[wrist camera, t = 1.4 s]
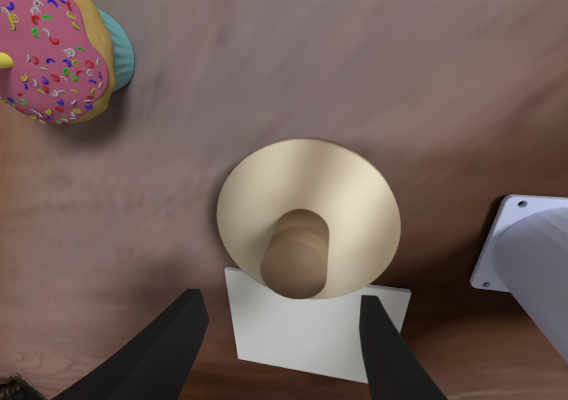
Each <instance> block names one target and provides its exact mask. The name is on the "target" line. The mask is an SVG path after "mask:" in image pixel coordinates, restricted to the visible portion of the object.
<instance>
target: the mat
mask: <svg viewBox="0 0 568 400" xmlns="http://www.w3.org/2000/svg"><path fill="white" fill-rule="evenodd" d="M224 271H225V277H226V284H227V290H228V296H229V303H230V309H231V316H232V322H233V328H234V335H235V341H236V348H237V354H238V359H243V360H248V361H254V362H259V363H264V364H269V365H274V366H280V367H285V368H290V369H295V370H300V371H306V372H311V373H316V374H321V375H327V376H332V377H337V378H342V379H347V380H353V381H358V382H363V383H368V380H367V375H366V371H365V366H364V361H363V357H362V351H361V343H360V334H359V318H360V305H361V295H376V296H378V297H379V299H380V301H381V303H382V305H383V307H384V308H385V310H386V312H387V314H388V315H389V317H390V319H391V320H392V322H393V324H394V325H395V327H396V329H397V330H398V332H399V333H400V331H401V328H402V324H403V320H404V317H405V313H406V310H407V306H408V303H409V299H410V296H411V291H410V289H402V288H394V287H386V286H378V285H370V284H368V285H367V286H365V287H363V288H362V289H360V290H358V291H355V292H353V293H350V294H347V295H344V296H341V297H336V298H330V299H290V298H286V297H283V296H281V295H279V294H277V293H275V292H274V291H272V290H271V289H269V288H267V287H265V286H263V285H261V284H260V283H258V282H256V281H255V280H253V279H252V278H251V277H250V276H248V275H247V274H246V273H245V272H244V271H243V270H242V269H241V268H233V267H225V269H224Z"/></svg>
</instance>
